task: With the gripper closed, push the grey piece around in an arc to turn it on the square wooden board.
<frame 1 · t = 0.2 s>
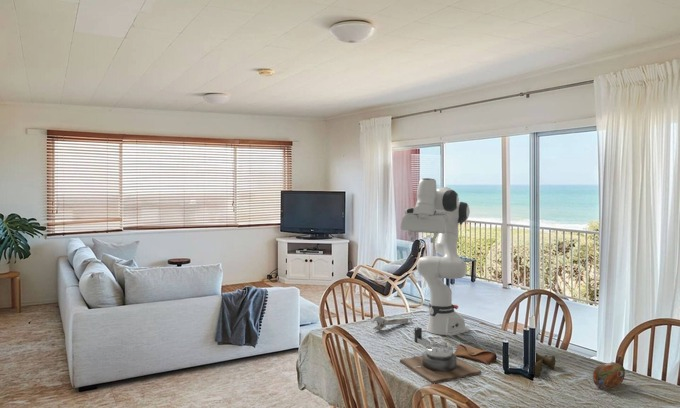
hand: (421, 242, 212), 51 cm above the table, tool tilted 20°, fingers open, 8 cm apart
kendama: (540, 369, 199), on the table
grey piece: (431, 342, 205), point 9 cm above the table, hinge at 0.0°
sunglasses case: (473, 359, 211), on the table
mottled orange oval: (608, 386, 182), on the table
square wooden board: (439, 367, 199), on the table
wrench: (391, 327, 255), on the table
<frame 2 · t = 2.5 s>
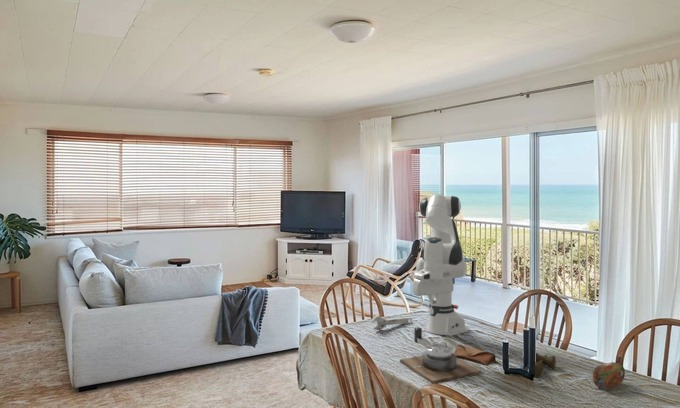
hand: (433, 303, 216), 23 cm above the table, tool pointing down, fingers closed
sunglasses case: (472, 359, 210), on the table
everything else where it was.
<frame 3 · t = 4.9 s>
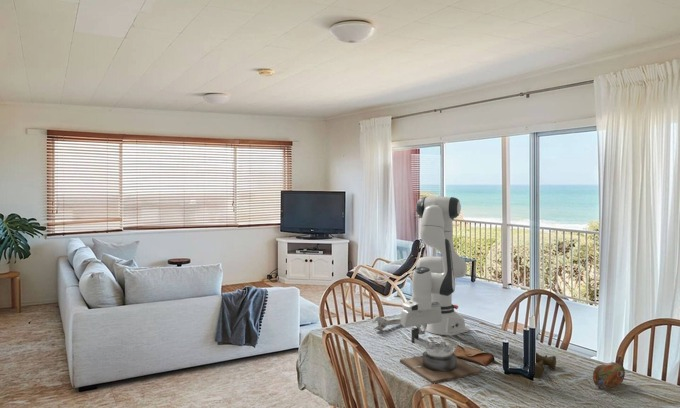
hand: (421, 334, 214), 9 cm above the table, tool pointing down, fingers closed
grey piece: (429, 343, 204), point 9 cm above the table, hinge at 6.0°, touching gripper
sunglasses case: (471, 360, 209), on the table
everything else where it was.
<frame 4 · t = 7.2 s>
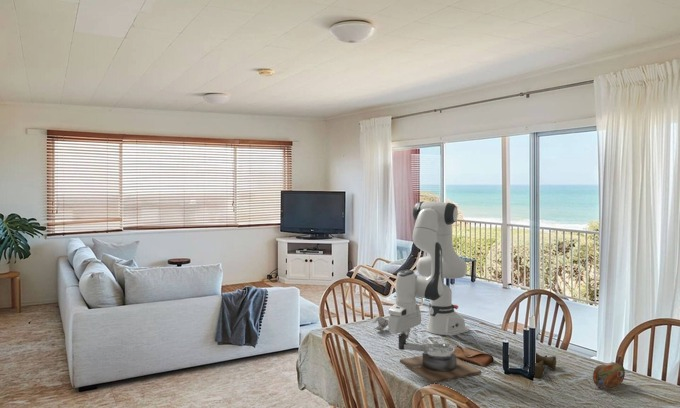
hand: (405, 338, 208), 9 cm above the table, tool pointing down, fingers closed
grey piece: (425, 345, 201), point 9 cm above the table, hinge at 44.3°, touching gripper
sunglasses case: (470, 361, 208), on the table
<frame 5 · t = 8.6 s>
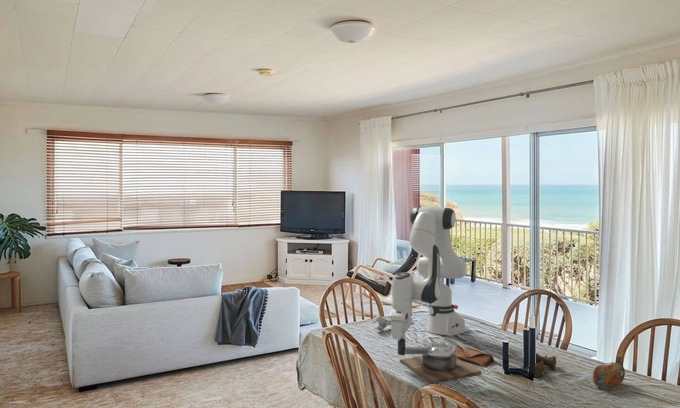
hand: (401, 343, 202), 9 cm above the table, tool pointing down, fingers closed
grey piece: (425, 347, 199), point 9 cm above the table, hinge at 67.2°, touching gripper
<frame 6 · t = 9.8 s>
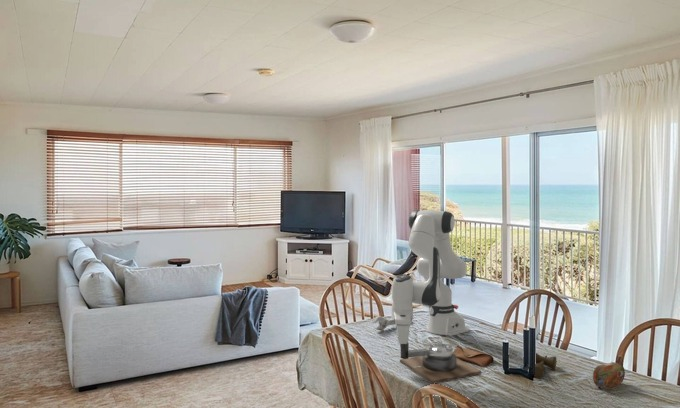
hand: (402, 347, 198), 9 cm above the table, tool pointing down, fingers closed
grey piece: (426, 348, 197), point 9 cm above the table, hinge at 82.4°, touching gripper
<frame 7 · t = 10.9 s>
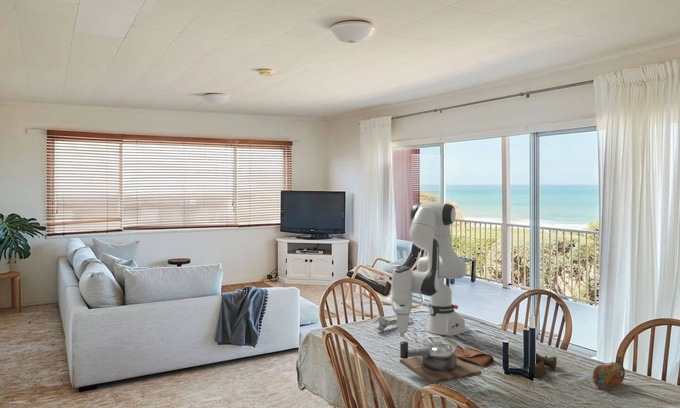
hand: (402, 335, 204), 12 cm above the table, tool pointing down, fingers closed
grey piece: (426, 348, 197), point 9 cm above the table, hinge at 81.1°
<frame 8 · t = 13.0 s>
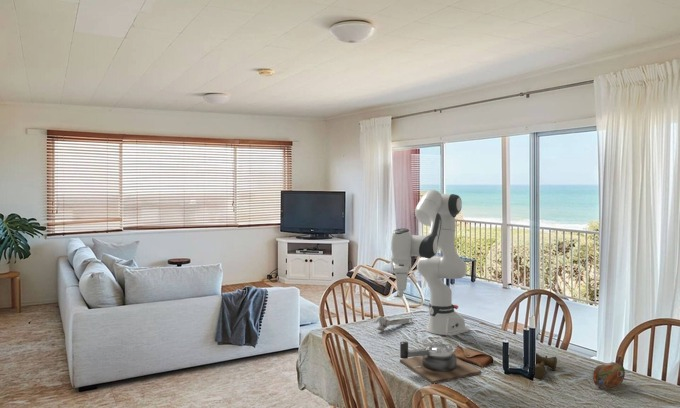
hand: (400, 296, 211), 27 cm above the table, tool pointing down, fingers closed
at the end: grey piece at +81° (first picture: +0°) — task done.
